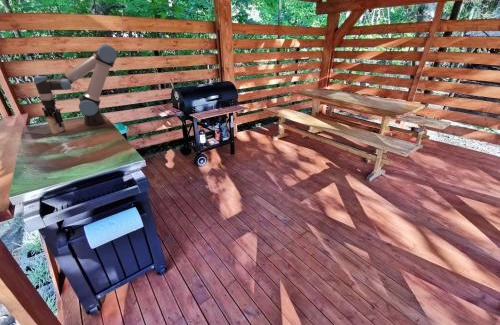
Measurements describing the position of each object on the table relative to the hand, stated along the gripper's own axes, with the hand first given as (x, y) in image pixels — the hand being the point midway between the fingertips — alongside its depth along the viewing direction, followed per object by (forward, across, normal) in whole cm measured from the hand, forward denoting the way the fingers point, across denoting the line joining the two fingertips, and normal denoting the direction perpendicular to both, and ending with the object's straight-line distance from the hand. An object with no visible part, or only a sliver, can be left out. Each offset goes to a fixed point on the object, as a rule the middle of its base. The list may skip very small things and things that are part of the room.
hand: (58, 130), depth 177 cm
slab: (+1, 0, 0) cm, 1 cm away
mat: (+1, -12, -3) cm, 12 cm away
